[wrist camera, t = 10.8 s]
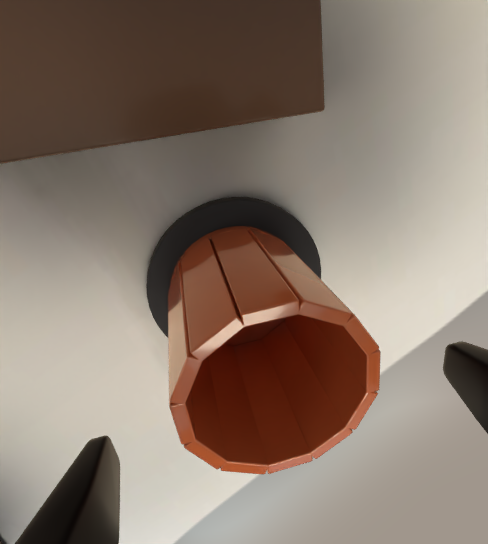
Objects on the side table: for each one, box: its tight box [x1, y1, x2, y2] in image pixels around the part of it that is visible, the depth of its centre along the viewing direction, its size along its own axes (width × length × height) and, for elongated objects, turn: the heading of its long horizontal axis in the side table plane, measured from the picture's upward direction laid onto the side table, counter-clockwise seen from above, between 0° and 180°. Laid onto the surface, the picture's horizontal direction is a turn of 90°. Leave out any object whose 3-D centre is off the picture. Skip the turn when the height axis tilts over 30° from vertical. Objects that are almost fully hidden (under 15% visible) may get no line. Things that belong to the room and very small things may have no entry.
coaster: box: [147, 197, 321, 337], centre depth 15 cm, size 8×8×1 cm
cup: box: [168, 226, 380, 474], centre depth 12 cm, size 6×6×6 cm
